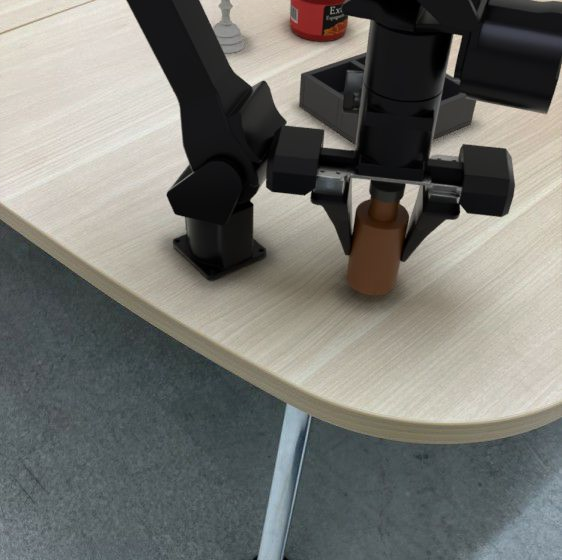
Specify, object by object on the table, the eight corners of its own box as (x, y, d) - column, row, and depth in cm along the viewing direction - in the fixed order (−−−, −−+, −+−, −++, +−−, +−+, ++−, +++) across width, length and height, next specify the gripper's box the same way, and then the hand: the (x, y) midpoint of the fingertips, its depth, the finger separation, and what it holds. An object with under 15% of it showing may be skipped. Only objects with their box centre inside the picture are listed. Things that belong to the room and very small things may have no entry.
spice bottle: (406, 283, 69) (427, 186, 62) (369, 302, 67) (386, 204, 60) (372, 257, 72) (389, 160, 64) (335, 274, 70) (349, 177, 62)
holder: (471, 123, 91) (478, 91, 88) (380, 161, 85) (385, 127, 82) (387, 75, 98) (392, 43, 95) (298, 106, 92) (300, 73, 89)
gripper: (526, 45, 61) (481, 212, 72) (287, 22, 62) (280, 191, 74) (539, 117, 53) (486, 291, 65) (267, 90, 55) (262, 265, 66)
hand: (375, 255), depth 68 cm, fingers closed on spice bottle, 4 cm apart
